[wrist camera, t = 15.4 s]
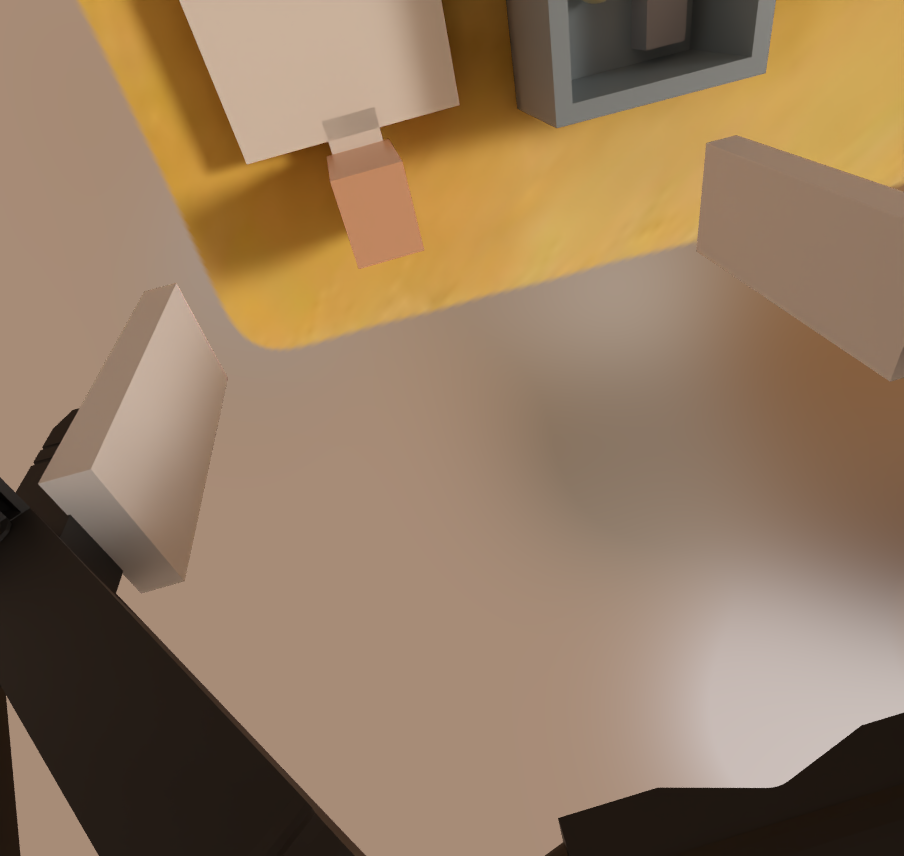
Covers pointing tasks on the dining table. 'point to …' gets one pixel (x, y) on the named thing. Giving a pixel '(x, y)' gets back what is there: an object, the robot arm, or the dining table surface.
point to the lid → (333, 95)
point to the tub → (630, 52)
